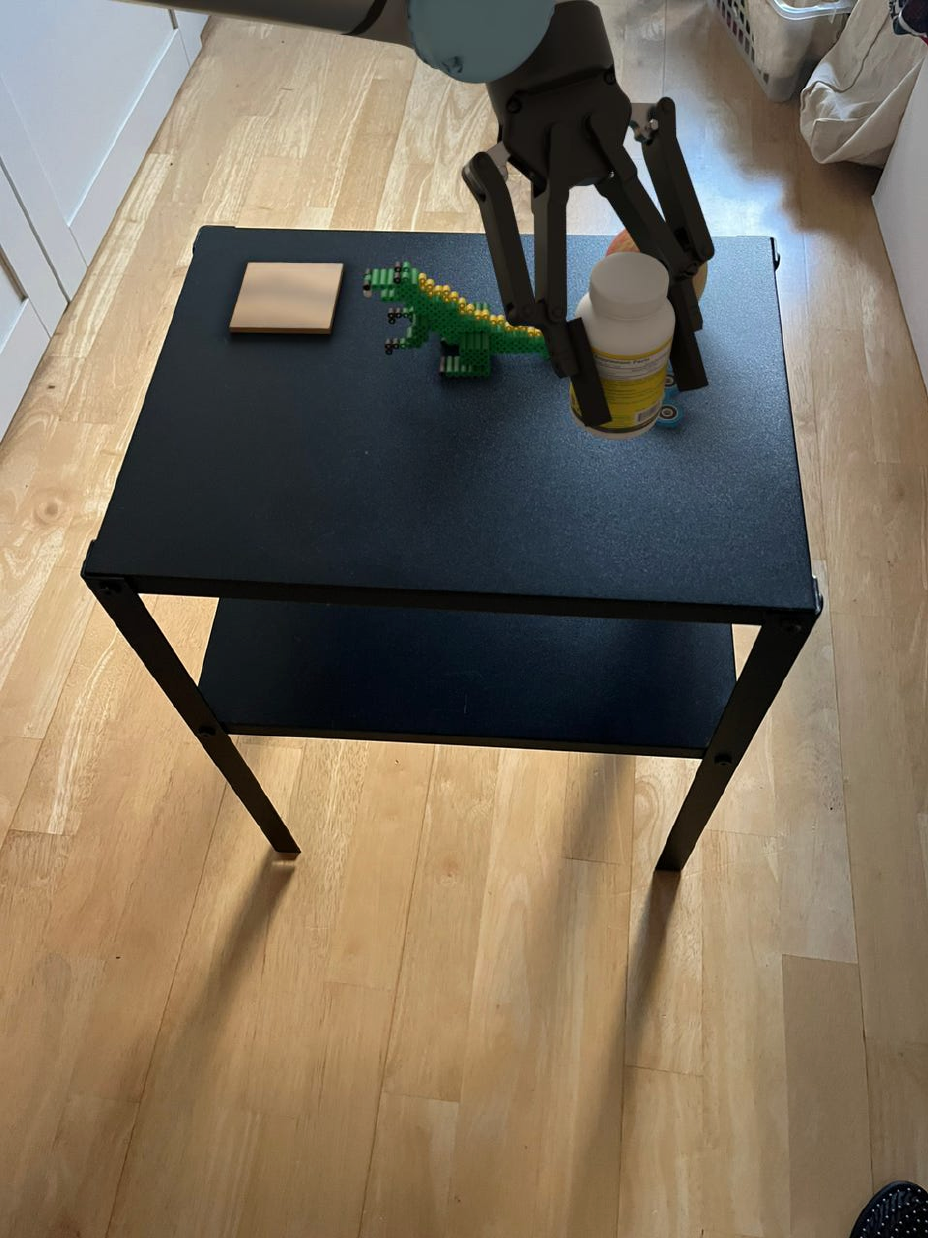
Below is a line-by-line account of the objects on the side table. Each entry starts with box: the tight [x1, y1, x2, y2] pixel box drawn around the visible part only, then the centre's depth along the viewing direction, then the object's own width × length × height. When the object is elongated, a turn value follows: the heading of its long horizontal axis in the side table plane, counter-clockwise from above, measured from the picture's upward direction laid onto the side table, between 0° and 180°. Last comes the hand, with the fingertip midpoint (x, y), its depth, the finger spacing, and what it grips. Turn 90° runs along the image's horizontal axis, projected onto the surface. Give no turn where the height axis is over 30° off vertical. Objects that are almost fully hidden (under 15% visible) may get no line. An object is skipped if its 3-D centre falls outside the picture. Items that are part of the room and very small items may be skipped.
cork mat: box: [229, 262, 345, 335], centre depth 94 cm, size 9×9×1 cm
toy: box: [655, 369, 683, 428], centre depth 85 cm, size 6×6×1 cm
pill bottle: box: [569, 252, 675, 441], centre depth 66 cm, size 6×6×11 cm
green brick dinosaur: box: [362, 261, 550, 378], centre depth 86 cm, size 20×6×9 cm, turn 89°
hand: (646, 405), depth 66 cm, fingers closed on pill bottle, 6 cm apart
